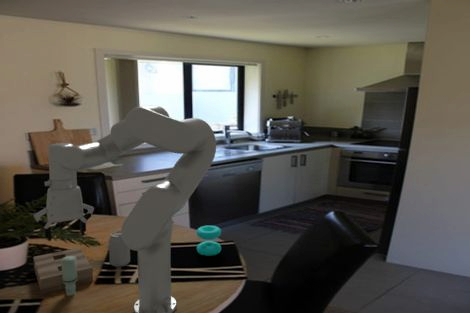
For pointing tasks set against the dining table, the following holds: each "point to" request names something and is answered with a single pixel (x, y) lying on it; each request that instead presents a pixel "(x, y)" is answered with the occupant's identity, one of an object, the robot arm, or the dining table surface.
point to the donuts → (208, 246)
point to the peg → (69, 274)
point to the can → (118, 250)
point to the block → (60, 269)
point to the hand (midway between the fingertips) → (66, 236)
